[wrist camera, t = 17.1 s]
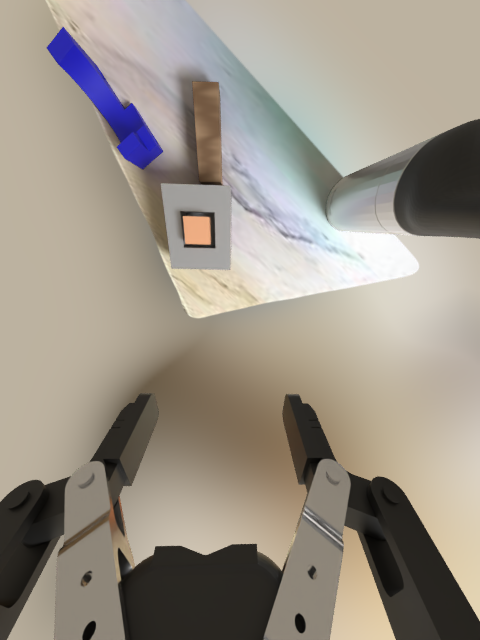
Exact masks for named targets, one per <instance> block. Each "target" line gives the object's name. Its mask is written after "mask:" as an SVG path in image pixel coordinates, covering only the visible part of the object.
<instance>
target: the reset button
mask: <svg viewBox="0 0 480 640" xmlns="http://www.w3.org/2000/svg"><path fill="white" fill-rule="evenodd" d="M183 223H184V234H185V244H205V245H210V244H211V225H210V217H196V216H183Z"/></svg>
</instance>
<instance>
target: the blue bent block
mask: <svg viewBox="0 0 480 640" xmlns="http://www.w3.org/2000/svg"><path fill="white" fill-rule="evenodd" d="M47 49H48V50H49V52H50V53H51V55H52V56H53V58H54V59H55V60H56V62H57V63H58V64H59V65H60V66H61V67H62V68H63V69H64V70H65V71H66V72H67V73H68V74H69V75H70V76H71V77H72V79H74V81H75V82H76V83H77V84H78V85H79V86H80V87H81V89H82V90H83V91H84V92H85V93H86V94H87V96H88V97H89V98H90V99H91V101H92V102H93V103H94V104H95V106H96V107H97V108H98V109H99V111H100V112H101V113H102V115H103V116H104V117H105V119H106V120H107V121H108V123H109V124H110V126H111V127H112V129H113V130H114V132H115V133H116V135H117V137H118V138H119V140H120V142H121V143H120V144H119V145H118V146H117V148H118V149H119V151H120V152H121V154H122V155H123V157H124V158H125V159H126V160H128V161H130V162H131V163H133V164H135V165H136V166H138V167H140V168H141V169H144V168H145V167H146V166H147V165H149V164H150V163H151V162H152V161H153V160H154V159H155V158H156V157H157V156H159V155H160V154H161V153H162V152H163V150H162V149H161V147H160V146H159V144H158V142H157V141H156V139H155V138H154V136H153V134H152V133H151V131H150V130H149V128H148V126H147V125H146V123H145V122H144V120H143V118H142V117H141V115H140V114H139V112H138V111H137V109H136V107H135V106H134V105H133V104H132V103H131V104H130V105H129V106H128V107H127V108H126V109H125V108H124V107H123V105H122V104H121V102H120V101H119V99H118V98H117V96H116V95H115V93H114V92H113V90H112V88H111V87H110V85H109V84H108V82H107V81H106V79H105V78H104V76H103V75H102V73H101V71H100V70H99V68H98V67H97V65H96V64H95V63H94V62H93V61H92V60H91V58H90V57H89V56H88V55H87V54H86V53H85V51H84V50H83V49H82V48H81V47H80V46H79V45H78V43H77V42H76V41H75V40H74V39H73V38H72V36H71V35H70V34H69V33H68V32H67V31H66V30H65V28H64V27H63V28H62V29H61V30H60V31H59V33H58V34H57V35H56V37H55V38H54V39H53V41H52V42H51V43H50V44H49V45H48V47H47Z"/></svg>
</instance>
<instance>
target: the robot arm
mask: <svg viewBox="0 0 480 640" xmlns="http://www.w3.org/2000/svg"><path fill="white" fill-rule="evenodd" d="M326 216H327V219H328V221H329V223H330V225H331V226H332V227H333V228H335V229H337V230H339V231H345V232H360V233H378V234H396V235H417V236H446V237H467V238H479V239H480V119H478V120H474V121H470V122H467V123H465V124H462V125H460V126H457V127H455V128H453V129H451V130H448V131H446V132H444V133H442V134H439V135H437V136H435V137H433V138H431V139H428V140H426V141H424V142H421V143H419V144H417V145H415V146H413V147H410V148H409V149H406V150H404V151H401V152H399V153H397V154H395V155H393V156H390V157H388V158H386V159H384V160H381V161H379V162H377V163H375V164H372V165H370V166H368V167H366V168H363V169H361V170H359V171H356V172H354V173H352V174H350V175H348V176H346V177H344V178H342V179H341V180H340V181H339V182H338V183H337V184H336V185H335V186H334V187H333V189H332V190H331V192H330V194H329V196H328V199H327V203H326ZM158 414H159V411H158V406H157V402H156V398H155V395H154V394H140V395H139V396H138V398H137V399H136V401H135V403H129V404H128V405H127V406H126V407H125V408H124V409H123V410H122V411H121V412H120V414H119V416H118V417H117V419H116V421H115V422H114V423H113V425H112V427H111V429H110V430H109V432H108V433H107V435H106V437H105V438H104V440H103V441H102V443H101V445H100V446H99V448H98V450H97V451H96V453H95V454H94V456H93V458H92V459H91V460H90V462H89V463H87V464H85V465H83V466H82V467H80V468H79V469H78V470H77V471H75V472H74V474H73V475H72V476H70V477H67V478H65V479H62V480H59V481H56V482H53V483H50V484H47V485H44V484H43V483H42V482H41V481H39V480H32V481H28V482H26V483H23V484H22V485H20V486H18V487H17V488H15V489H14V490H13V491H11V492H10V493H9V494H8V495H7V496H6V497H5V498H4V499H3V500H2V501H1V502H0V640H7V638H8V636H9V634H10V632H11V630H12V628H13V626H14V625H15V623H16V621H17V619H18V617H19V615H20V613H21V611H22V609H23V607H24V605H25V603H26V601H27V600H28V597H29V596H30V594H31V592H32V590H33V588H34V586H35V584H36V582H37V580H38V578H39V576H40V575H41V573H42V571H43V569H44V567H45V565H46V563H47V561H48V559H49V557H50V555H51V553H52V551H53V549H54V547H55V546H56V544H57V542H58V540H59V538H60V536H61V535H64V545H63V547H62V548H61V549H60V550H59V552H58V556H57V569H56V570H57V571H56V601H55V629H54V640H330V634H331V627H332V621H333V615H334V608H335V601H336V595H337V589H338V582H339V576H340V569H341V563H342V556H343V545H344V544H343V541H342V535H343V529H344V526H347V527H349V528H352V529H354V530H356V531H357V532H358V535H359V538H360V541H361V543H362V546H363V549H364V552H365V554H366V557H367V560H368V563H369V566H370V569H371V571H372V574H373V577H374V580H375V583H376V585H377V588H378V591H379V594H380V597H381V599H382V602H383V605H384V608H385V610H386V613H387V616H388V619H389V622H390V624H391V627H392V630H393V633H394V636H395V638H396V640H480V621H479V619H478V618H477V616H476V614H475V612H474V611H473V609H472V607H471V606H470V604H469V602H468V600H467V599H466V597H465V595H464V594H463V592H462V590H461V588H460V587H459V585H458V583H457V582H456V580H455V579H454V577H453V575H452V573H451V571H450V570H449V568H448V566H447V565H446V563H445V561H444V559H443V558H442V556H441V554H440V553H439V551H438V549H437V547H436V546H435V544H434V542H433V541H432V539H431V537H430V536H429V534H428V532H427V530H426V529H425V527H424V525H423V524H422V522H421V520H420V518H419V517H418V515H417V513H416V512H415V510H414V508H413V507H412V505H411V503H410V501H409V500H408V498H407V496H406V495H405V493H404V492H403V491H402V490H401V489H400V487H398V486H397V485H396V484H395V483H394V482H392V481H390V480H389V479H387V478H384V477H375V478H373V480H372V481H369V480H367V479H364V478H361V477H358V476H355V475H353V474H351V473H349V472H347V471H346V470H345V469H344V468H343V467H342V466H341V465H340V464H339V463H338V462H337V461H336V459H335V457H334V455H333V453H332V450H331V448H330V446H329V443H328V441H327V439H326V436H325V434H324V432H323V430H322V428H321V425H320V422H319V421H318V418H317V415H316V413H315V411H314V410H313V409H312V408H311V406H310V405H309V404H303V403H302V401H301V398H300V396H299V395H298V394H286V396H285V401H284V406H283V422H284V426H285V430H286V434H287V438H288V442H289V446H290V451H291V455H292V459H293V462H294V467H295V471H296V475H297V479H298V483H299V484H305V485H306V489H307V496H306V500H305V502H304V506H303V509H302V512H301V515H300V518H299V521H298V524H297V527H296V531H295V533H294V536H293V539H292V542H291V545H290V548H289V551H288V554H287V557H286V560H285V563H284V566H283V569H282V571H281V570H280V568H279V567H278V566H277V565H276V564H275V563H274V562H273V561H272V560H271V559H270V558H268V557H267V556H265V555H263V554H262V553H260V552H257V544H236V545H230V546H228V547H225V548H223V549H221V550H218V551H216V552H213V553H211V554H209V555H202V554H200V553H197V552H195V551H192V550H190V549H187V548H185V547H182V546H156V547H155V551H154V555H152V556H150V557H149V558H147V559H145V560H143V561H142V562H141V563H139V564H138V565H137V566H136V567H135V564H134V559H133V556H132V552H131V548H130V545H129V542H128V538H127V533H126V527H125V522H124V517H123V512H122V506H121V501H120V496H119V495H120V493H121V490H122V488H123V486H132V483H133V481H134V478H135V476H136V473H137V471H138V468H139V465H140V463H141V460H142V458H143V455H144V453H145V450H146V448H147V445H148V443H149V440H150V438H151V435H152V433H153V430H154V428H155V425H156V423H157V420H158Z"/></svg>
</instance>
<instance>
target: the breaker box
mask: <svg viewBox="0 0 480 640" xmlns="http://www.w3.org/2000/svg"><path fill="white" fill-rule="evenodd" d="M161 191H162V198H163V206H164V214H165V222H166V229H167V237H168V245H169V253H170V260H171V268H173V269H217V270H230V267H231V186H221V185H194V184H167V183H161ZM183 216H196V217H210V225H211V244H210V245H205V244H185V234H184V223H183Z"/></svg>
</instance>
